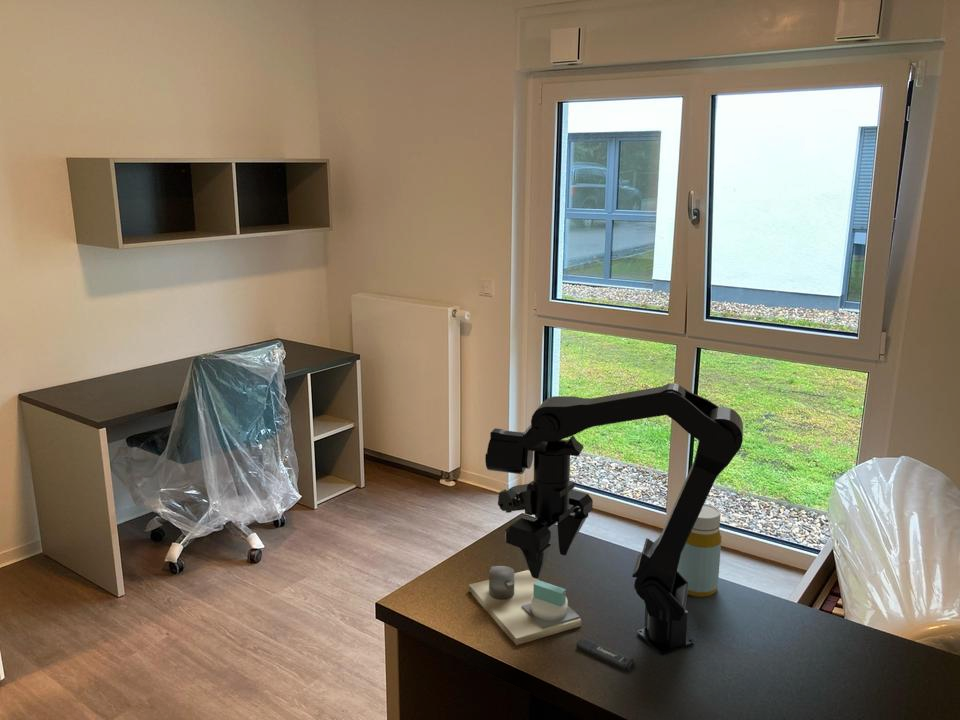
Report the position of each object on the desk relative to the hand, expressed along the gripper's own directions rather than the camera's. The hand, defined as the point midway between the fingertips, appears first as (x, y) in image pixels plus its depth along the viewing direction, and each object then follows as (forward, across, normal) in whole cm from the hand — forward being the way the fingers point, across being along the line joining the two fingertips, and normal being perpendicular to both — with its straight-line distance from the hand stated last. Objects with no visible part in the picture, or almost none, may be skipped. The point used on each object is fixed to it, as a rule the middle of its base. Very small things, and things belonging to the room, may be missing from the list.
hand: (549, 565), depth 126 cm
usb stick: (+10, +4, +12) cm, 17 cm away
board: (+10, 0, -5) cm, 11 cm away
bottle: (+10, -23, +17) cm, 30 cm away
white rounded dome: (+8, 0, 0) cm, 8 cm away
